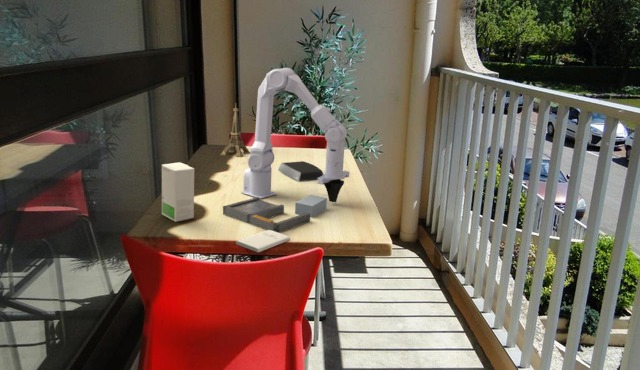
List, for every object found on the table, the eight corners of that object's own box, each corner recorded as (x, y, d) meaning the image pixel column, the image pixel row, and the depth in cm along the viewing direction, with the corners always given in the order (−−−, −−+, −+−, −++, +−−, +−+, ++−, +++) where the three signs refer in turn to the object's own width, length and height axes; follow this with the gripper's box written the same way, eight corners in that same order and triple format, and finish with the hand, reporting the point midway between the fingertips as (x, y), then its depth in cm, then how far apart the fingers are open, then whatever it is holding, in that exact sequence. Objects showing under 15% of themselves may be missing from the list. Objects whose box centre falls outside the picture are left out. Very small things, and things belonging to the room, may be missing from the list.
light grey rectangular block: (294, 214, 167) (295, 202, 166) (310, 206, 176) (310, 195, 175) (311, 218, 165) (312, 206, 164) (326, 209, 173) (327, 198, 172)
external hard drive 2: (296, 183, 204) (296, 172, 203) (276, 171, 220) (276, 161, 219) (326, 180, 210) (327, 170, 209) (304, 169, 226) (305, 159, 225)
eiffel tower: (240, 157, 239) (241, 101, 233) (219, 154, 242) (219, 99, 236) (251, 153, 249) (251, 99, 243) (230, 150, 252) (230, 97, 246)
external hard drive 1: (235, 246, 141) (268, 234, 151) (258, 254, 137) (290, 241, 146) (235, 240, 141) (268, 228, 150) (258, 248, 136) (290, 236, 146)
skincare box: (161, 215, 160) (159, 164, 156) (181, 210, 165) (179, 161, 161) (176, 222, 155) (174, 170, 151) (195, 218, 159) (195, 167, 155)
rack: (223, 214, 164) (223, 205, 163) (257, 204, 175) (257, 196, 174) (276, 233, 150) (276, 223, 149) (309, 221, 161) (310, 212, 160)
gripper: (330, 167, 167) (328, 208, 170) (357, 160, 178) (355, 199, 181) (313, 163, 171) (311, 203, 175) (340, 156, 182) (338, 195, 186)
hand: (332, 201), depth 178 cm, fingers closed
